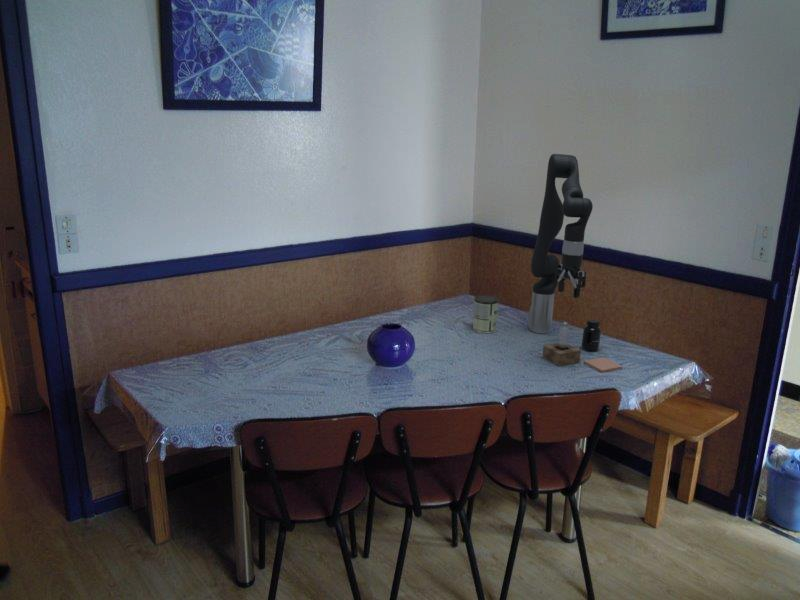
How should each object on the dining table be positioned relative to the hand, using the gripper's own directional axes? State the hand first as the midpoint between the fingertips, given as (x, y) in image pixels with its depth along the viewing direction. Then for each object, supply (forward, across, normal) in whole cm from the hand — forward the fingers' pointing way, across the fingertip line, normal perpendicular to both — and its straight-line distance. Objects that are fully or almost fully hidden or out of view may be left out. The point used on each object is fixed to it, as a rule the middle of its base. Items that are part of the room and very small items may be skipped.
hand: (568, 294), depth 258 cm
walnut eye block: (+26, 0, 0) cm, 26 cm away
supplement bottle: (+26, -5, +19) cm, 33 cm away
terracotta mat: (+26, +11, +11) cm, 30 cm away
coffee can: (+26, -41, -8) cm, 50 cm away
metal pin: (+26, 0, 0) cm, 26 cm away
